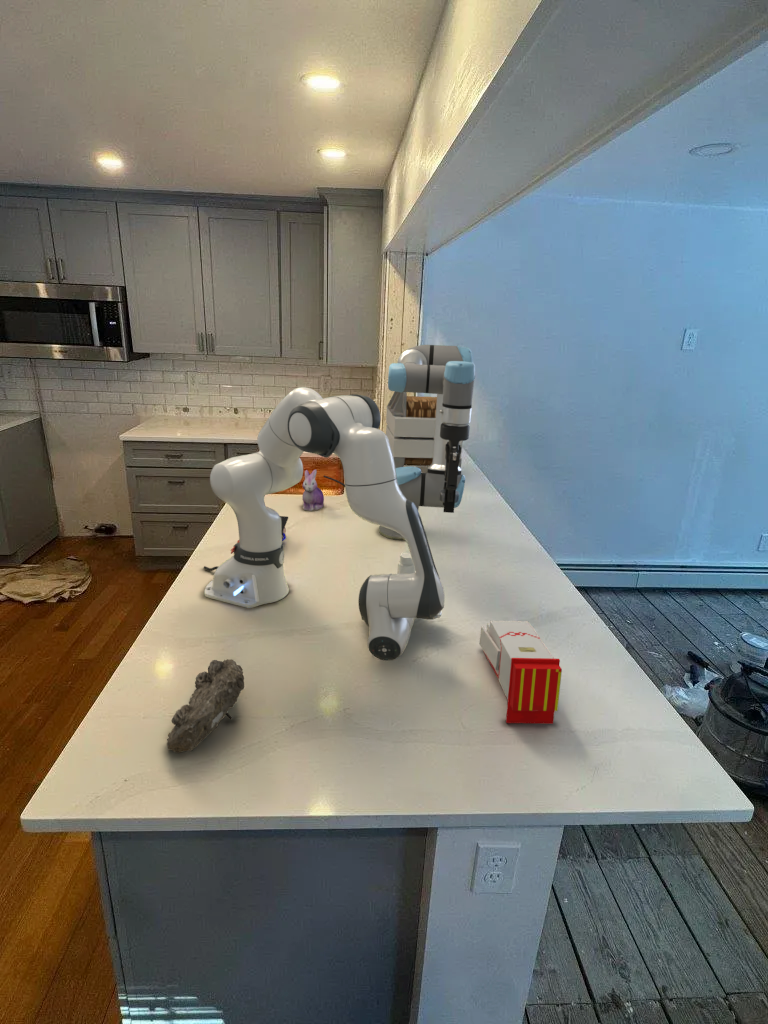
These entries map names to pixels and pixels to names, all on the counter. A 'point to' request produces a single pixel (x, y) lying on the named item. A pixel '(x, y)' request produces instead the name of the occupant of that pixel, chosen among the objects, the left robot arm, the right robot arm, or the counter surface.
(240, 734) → the counter surface
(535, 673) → the toy
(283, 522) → the figurine character
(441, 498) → the lid
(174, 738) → the fossil
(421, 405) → the grey tall slatted box
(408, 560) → the jar
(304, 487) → the figurine
